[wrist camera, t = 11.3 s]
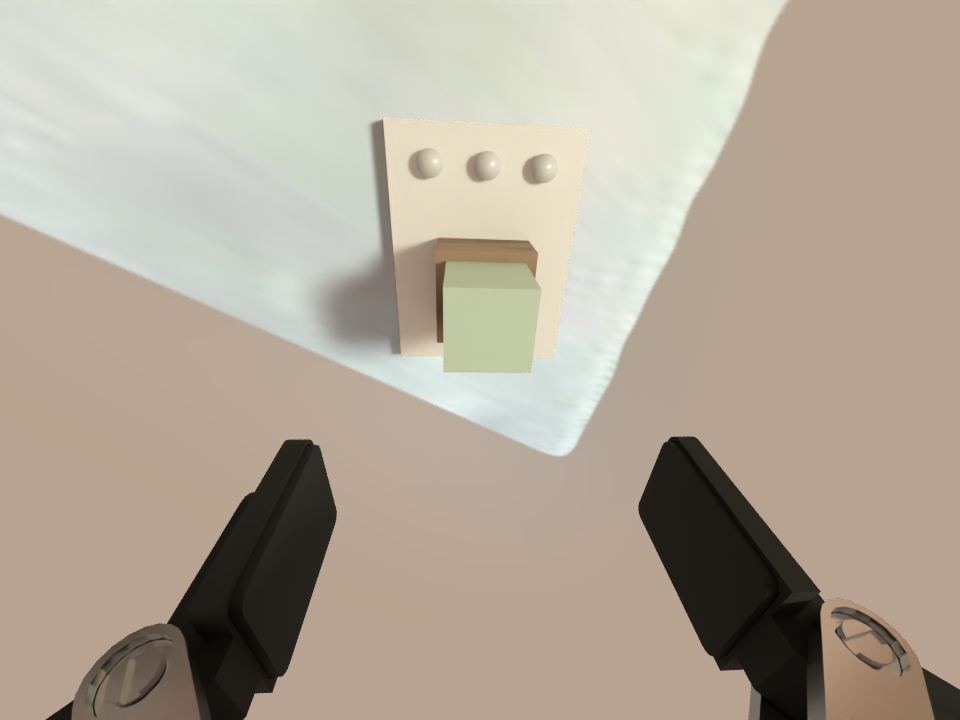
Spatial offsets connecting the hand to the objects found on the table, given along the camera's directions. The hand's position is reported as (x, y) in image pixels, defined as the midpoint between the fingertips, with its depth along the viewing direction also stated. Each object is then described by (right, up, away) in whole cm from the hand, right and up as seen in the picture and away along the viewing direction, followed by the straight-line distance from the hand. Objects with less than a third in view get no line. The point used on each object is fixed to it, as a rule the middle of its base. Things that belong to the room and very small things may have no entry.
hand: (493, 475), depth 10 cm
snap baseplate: (0, +12, +19) cm, 23 cm away
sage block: (0, +8, +16) cm, 18 cm away
